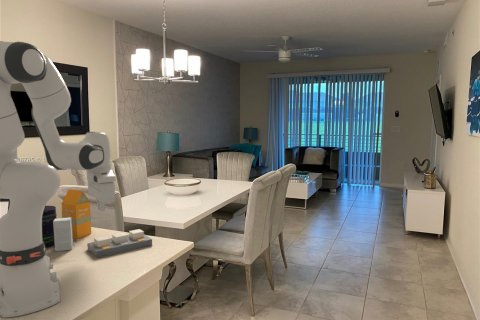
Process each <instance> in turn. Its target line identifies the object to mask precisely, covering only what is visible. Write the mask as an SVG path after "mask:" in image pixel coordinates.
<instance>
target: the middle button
mask: <svg viewBox="0 0 480 320" xmlns="http://www.w3.org/2000/svg"><path fill="white" fill-rule="evenodd" d="M111 235H112V236H111V238H112V241H113V242H114V243H115V244H118V243H122V242H127V235H128V234H126V233H125V232H124V231H123V232H117V233H114V234H113V233H112V234H111Z"/></svg>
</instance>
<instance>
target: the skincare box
mask: <svg viewBox="0 0 480 320" xmlns="http://www.w3.org/2000/svg"><path fill="white" fill-rule="evenodd" d="M56 218H57V217H56ZM53 226H54V241H55V246H54V251H55V252H60V251H69V250H72V249H73V247H74V241H73V240H74V238H72V223H71V217H69V218H62V217H59V218H57V219H55V220H54V221H53Z"/></svg>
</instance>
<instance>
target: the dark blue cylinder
mask: <svg viewBox="0 0 480 320" xmlns="http://www.w3.org/2000/svg"><path fill="white" fill-rule="evenodd" d="M55 219H57V207H56V206H55V205H45V208H44V211H43V215H42V241H44V245H45V249H49V248H53V247H55V241H54V226H53V221H54V220H55Z"/></svg>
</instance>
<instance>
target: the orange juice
mask: <svg viewBox="0 0 480 320" xmlns="http://www.w3.org/2000/svg"><path fill="white" fill-rule="evenodd" d="M91 215H92V214H91V201H90V200H89V199H88V197H87V196H86V194H85V192H84V191H83V190H77V189H68V190H67V191H66V194H65V195H64V198H63V200H62V202H61V218H69V217H71V223H72V238H73V239H80V238H83V237H86V236H89V235H92V216H91Z"/></svg>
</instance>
